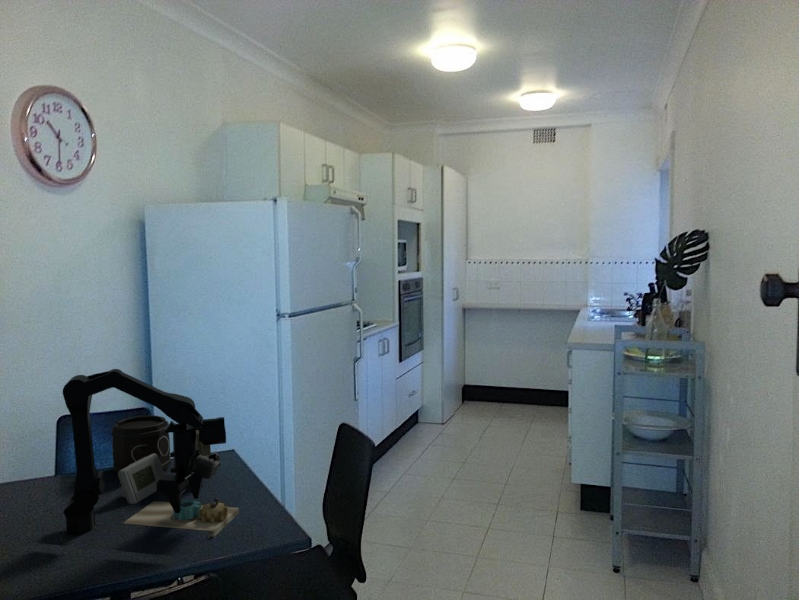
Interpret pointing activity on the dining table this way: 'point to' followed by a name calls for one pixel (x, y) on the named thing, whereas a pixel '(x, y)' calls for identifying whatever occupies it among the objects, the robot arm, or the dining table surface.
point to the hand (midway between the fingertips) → (187, 505)
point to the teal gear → (188, 510)
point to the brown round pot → (140, 441)
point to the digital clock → (140, 478)
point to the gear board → (208, 519)
